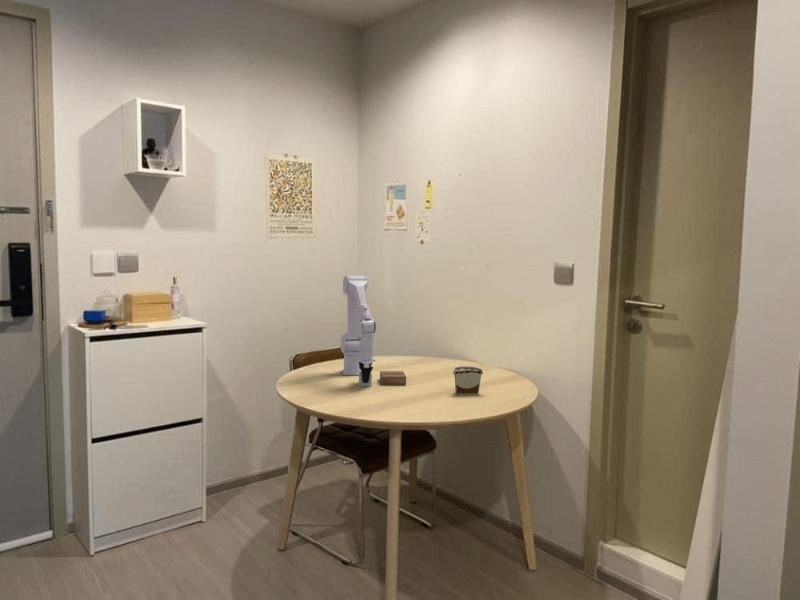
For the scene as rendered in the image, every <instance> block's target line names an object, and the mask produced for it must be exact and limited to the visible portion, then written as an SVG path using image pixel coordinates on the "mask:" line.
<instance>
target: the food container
mask: <svg viewBox="0 0 800 600" xmlns="http://www.w3.org/2000/svg"><path fill="white" fill-rule="evenodd" d="M483 372H484V371H483V369H482V368H480V367H476V366H474V367H473V366H457V367H455V368H454V369H453V372H452V375H454V384H455V387H454V389H455V395H463V394H462V393H478V394H479V392H480V386H481V379H482V375H483V374H484V373H483ZM460 393H461V394H460Z"/></svg>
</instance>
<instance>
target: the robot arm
mask: <svg viewBox="0 0 800 600" xmlns="http://www.w3.org/2000/svg"><path fill="white" fill-rule="evenodd" d="M368 283H369V281H368V277H367V276H366V275H348V274H345V275H344V277H343V280H342V292H343V294H344V295H346V298H347V299H346V300H347V301H346V303H347V304H346V306H347V308H346V309H347V310H346V311H347V313H346V315H347V319H346V320H347V326H346V327H347V331H346V332H345V333H344V334H343V335H341V338H340V351H341V352H342V354H343V356H344V357H343V368H342V375H343V376H359V372H361V373H362V380H363V383H368V381H369V377H370V373H372V371H373V369H374V366H372V365H373V362H376V358H374V335H375V334H376V331H377V324H376V323H377V322H376V321H375V319H374V317H373V316H372V312H371V308H370V306H369V305H368V304H367V300H366V291H367V288H368V287H369V285H368Z"/></svg>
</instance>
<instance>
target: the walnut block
mask: <svg viewBox="0 0 800 600" xmlns="http://www.w3.org/2000/svg"><path fill="white" fill-rule="evenodd" d="M379 381H380V383H381V385H382V386H406V385H407V376H406V373H405V372H404V370H380V371H379Z"/></svg>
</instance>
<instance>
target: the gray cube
mask: <svg viewBox="0 0 800 600" xmlns="http://www.w3.org/2000/svg"><path fill="white" fill-rule="evenodd" d="M372 374H373V372H371V373H370V377H369V381H368V383H363V380H362V373H361V372H359V375H358V386H359V387H372V385H373V384H372V380H373V378H372V376H373V375H372Z"/></svg>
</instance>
